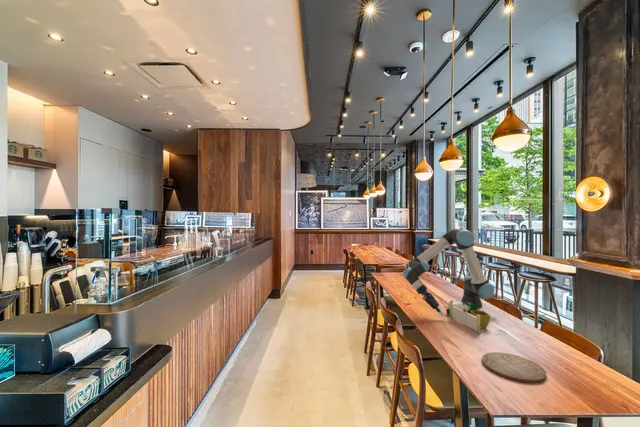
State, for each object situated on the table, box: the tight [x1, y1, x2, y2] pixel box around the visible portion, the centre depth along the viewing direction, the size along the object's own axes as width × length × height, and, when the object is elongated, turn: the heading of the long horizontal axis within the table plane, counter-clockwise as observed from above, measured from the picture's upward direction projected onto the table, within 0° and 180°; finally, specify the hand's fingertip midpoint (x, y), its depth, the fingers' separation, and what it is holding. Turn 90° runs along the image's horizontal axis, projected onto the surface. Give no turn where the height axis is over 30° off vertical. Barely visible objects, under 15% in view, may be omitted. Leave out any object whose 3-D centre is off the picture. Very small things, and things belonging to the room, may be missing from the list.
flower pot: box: [470, 310, 491, 329], centre depth 187 cm, size 9×9×9 cm
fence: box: [449, 300, 481, 335], centre depth 189 cm, size 28×3×12 cm, turn 10°
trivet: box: [481, 351, 547, 384], centre depth 135 cm, size 25×25×2 cm
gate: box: [453, 306, 467, 326], centre depth 194 cm, size 13×2×10 cm, turn 10°
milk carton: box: [445, 301, 479, 316], centre depth 209 cm, size 9×9×20 cm
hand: (443, 315), depth 198 cm, fingers closed
